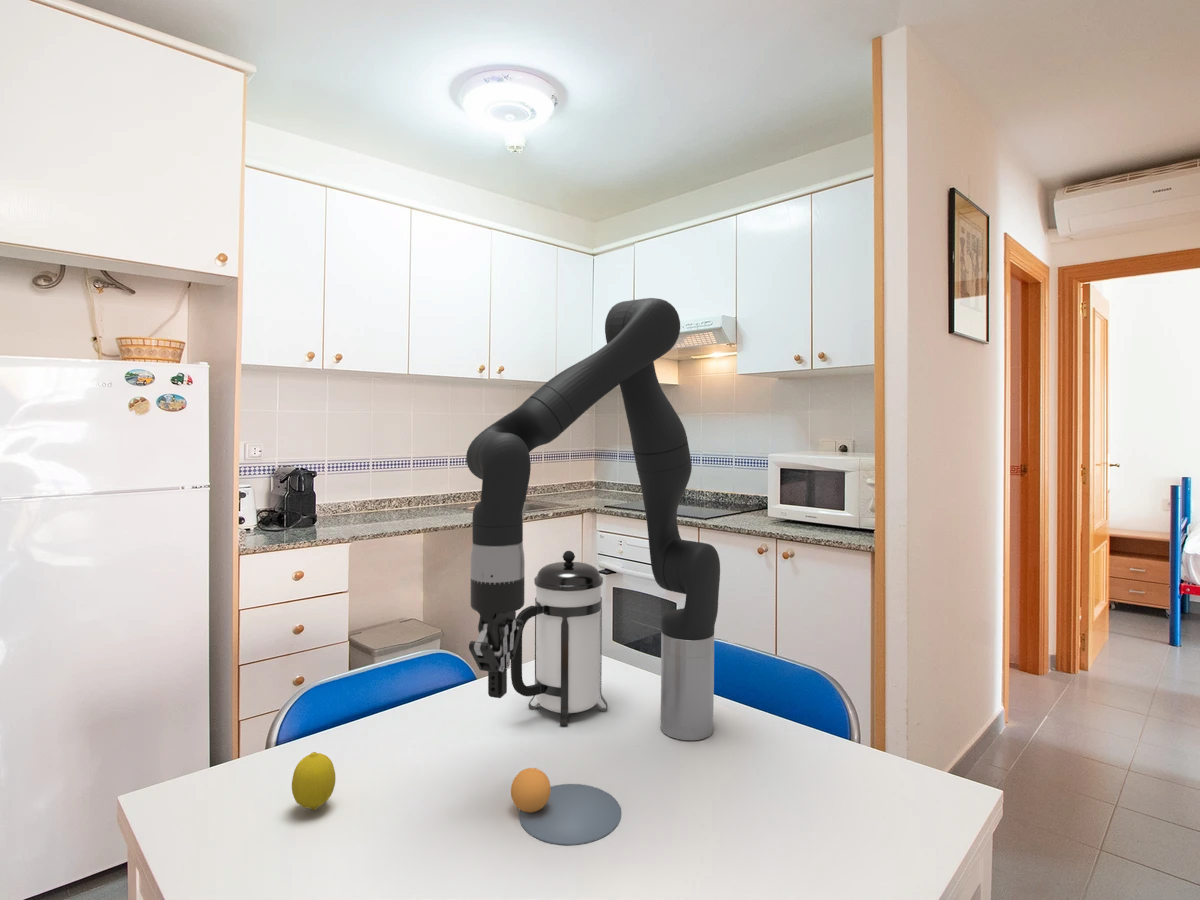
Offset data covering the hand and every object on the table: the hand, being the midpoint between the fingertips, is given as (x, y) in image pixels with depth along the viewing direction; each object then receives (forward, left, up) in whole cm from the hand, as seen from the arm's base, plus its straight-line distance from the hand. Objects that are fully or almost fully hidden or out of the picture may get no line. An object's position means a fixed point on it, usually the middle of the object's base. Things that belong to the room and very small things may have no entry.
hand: (497, 695), depth 93 cm
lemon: (+10, -23, -15) cm, 29 cm away
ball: (+1, +5, -12) cm, 13 cm away
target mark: (0, +11, -15) cm, 19 cm away
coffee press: (-30, -1, -15) cm, 34 cm away
